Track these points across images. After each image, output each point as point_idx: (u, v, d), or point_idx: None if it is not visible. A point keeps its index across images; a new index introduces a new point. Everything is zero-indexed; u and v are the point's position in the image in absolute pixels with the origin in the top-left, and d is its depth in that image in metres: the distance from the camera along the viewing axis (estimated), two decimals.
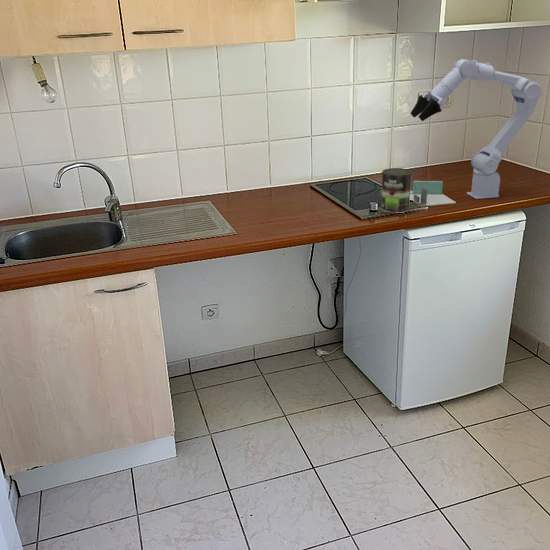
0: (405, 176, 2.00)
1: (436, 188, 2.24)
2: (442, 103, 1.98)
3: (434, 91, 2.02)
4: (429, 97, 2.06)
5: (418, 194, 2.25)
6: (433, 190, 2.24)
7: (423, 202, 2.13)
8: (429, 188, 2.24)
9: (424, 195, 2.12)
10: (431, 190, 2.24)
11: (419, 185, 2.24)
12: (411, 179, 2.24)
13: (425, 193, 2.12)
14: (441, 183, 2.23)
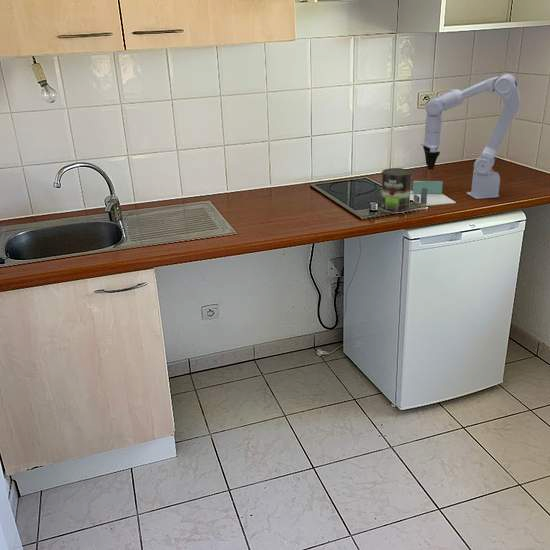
0: (405, 176, 2.00)
1: (436, 188, 2.24)
2: (433, 150, 2.16)
3: (425, 141, 2.21)
4: None
5: (418, 194, 2.25)
6: (433, 190, 2.24)
7: (423, 202, 2.13)
8: (429, 188, 2.24)
9: (424, 195, 2.12)
10: (431, 190, 2.24)
11: (419, 185, 2.24)
12: (411, 179, 2.24)
13: (425, 193, 2.12)
14: (441, 183, 2.23)
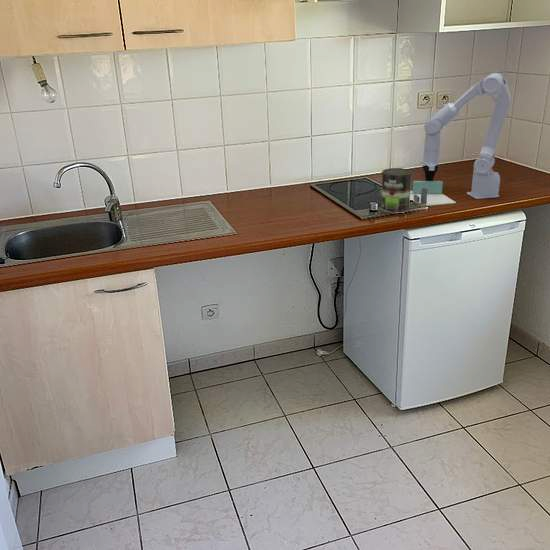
0: (405, 176, 2.00)
1: (436, 188, 2.24)
2: (432, 168, 2.19)
3: (424, 159, 2.24)
4: None
5: (418, 194, 2.25)
6: (433, 190, 2.24)
7: (423, 202, 2.13)
8: (429, 188, 2.24)
9: (424, 195, 2.12)
10: (431, 190, 2.24)
11: (419, 185, 2.24)
12: (411, 179, 2.24)
13: (425, 193, 2.12)
14: (441, 183, 2.23)
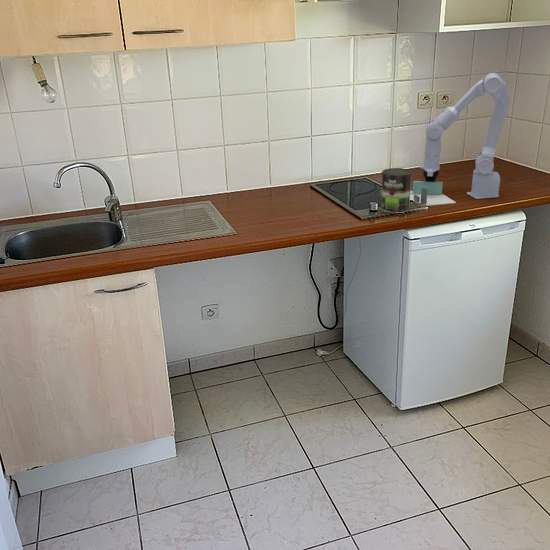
0: (405, 176, 2.00)
1: (436, 189, 2.23)
2: (430, 174, 2.17)
3: (424, 165, 2.22)
4: None
5: (418, 194, 2.25)
6: (433, 191, 2.23)
7: (423, 202, 2.13)
8: (429, 188, 2.23)
9: (424, 195, 2.12)
10: (431, 191, 2.24)
11: (419, 185, 2.24)
12: (411, 179, 2.24)
13: (425, 193, 2.12)
14: (441, 184, 2.22)
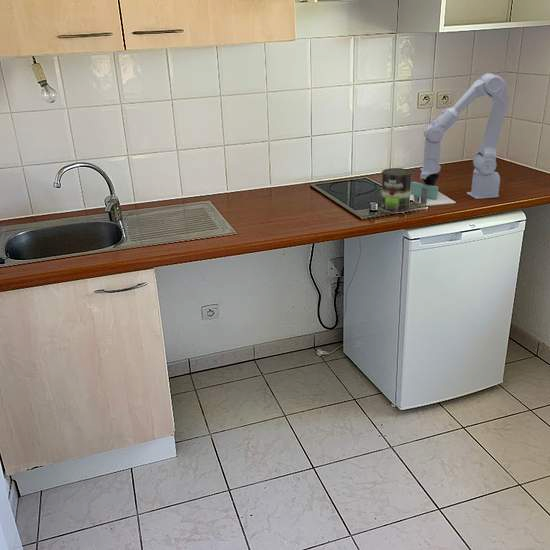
0: (405, 176, 2.00)
1: (430, 192, 2.19)
2: (423, 176, 2.14)
3: (423, 167, 2.19)
4: None
5: None
6: (428, 194, 2.20)
7: (423, 202, 2.13)
8: None
9: (424, 195, 2.12)
10: None
11: (416, 187, 2.22)
12: (411, 179, 2.24)
13: (425, 193, 2.12)
14: (434, 188, 2.17)
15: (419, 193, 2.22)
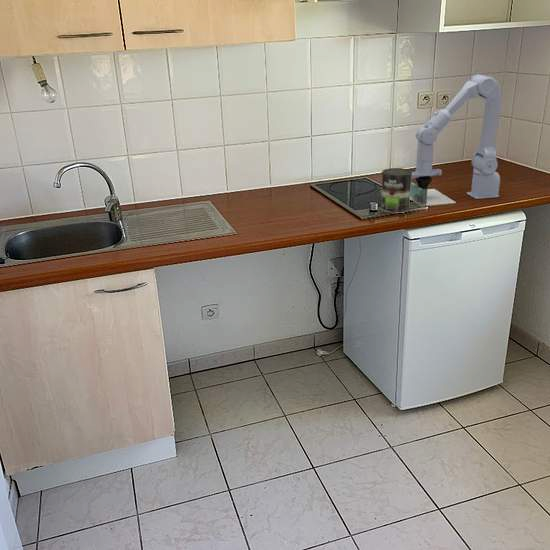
0: (405, 176, 2.00)
1: (417, 195, 2.17)
2: None
3: None
4: None
5: None
6: None
7: (423, 202, 2.13)
8: (414, 193, 2.19)
9: (424, 195, 2.12)
10: None
11: (411, 187, 2.22)
12: (411, 179, 2.24)
13: (425, 193, 2.12)
14: (419, 191, 2.14)
15: (412, 194, 2.21)
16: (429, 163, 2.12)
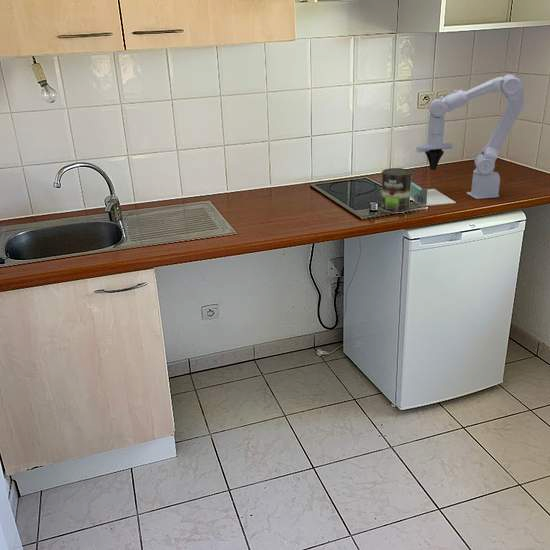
0: (405, 176, 2.00)
1: (417, 195, 2.17)
2: (418, 150, 2.16)
3: None
4: None
5: None
6: None
7: (423, 202, 2.13)
8: (414, 193, 2.19)
9: (424, 195, 2.12)
10: None
11: (411, 187, 2.22)
12: (411, 179, 2.24)
13: (425, 193, 2.12)
14: (419, 191, 2.14)
15: (412, 194, 2.21)
16: (440, 136, 2.14)
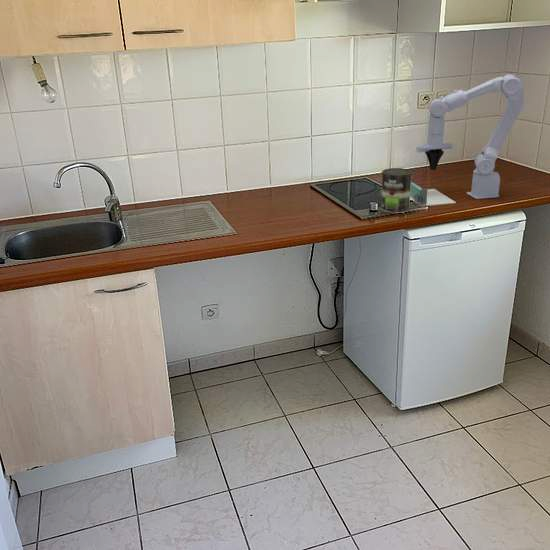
0: (405, 176, 2.00)
1: (417, 195, 2.17)
2: (418, 150, 2.16)
3: None
4: None
5: None
6: None
7: (423, 202, 2.13)
8: (414, 193, 2.19)
9: (424, 195, 2.12)
10: None
11: (411, 187, 2.22)
12: (411, 179, 2.24)
13: (425, 193, 2.12)
14: (419, 191, 2.14)
15: (412, 194, 2.21)
16: (440, 136, 2.14)
